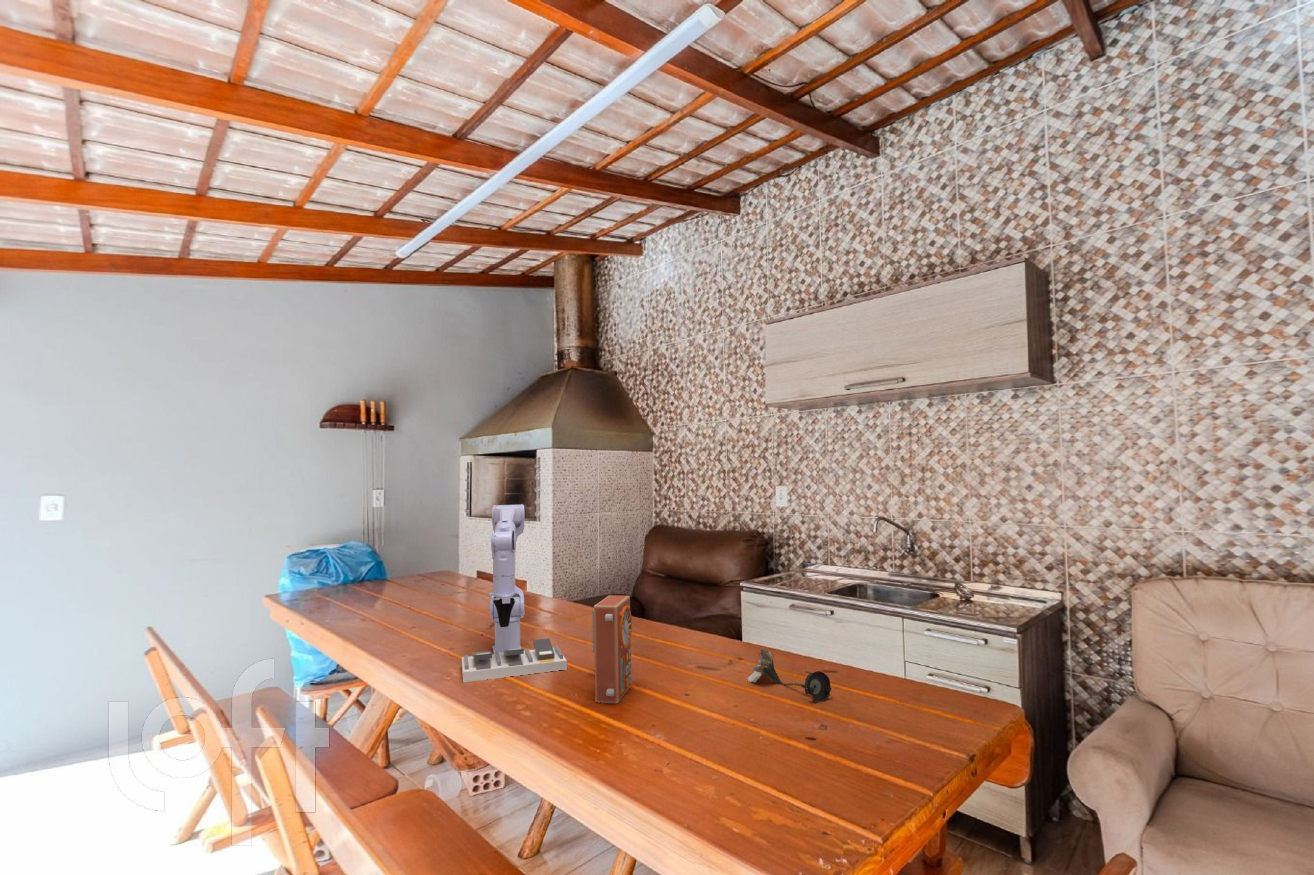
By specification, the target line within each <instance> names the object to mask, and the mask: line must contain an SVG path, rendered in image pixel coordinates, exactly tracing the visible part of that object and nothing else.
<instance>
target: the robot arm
mask: <svg viewBox="0 0 1314 875" xmlns="http://www.w3.org/2000/svg"><path fill="white" fill-rule="evenodd" d="M525 510H526V509H525V505H524V504H523V503H521V504H500V505H499V504H498V505H497V504H494V505H492V507H491V523H492V531H493V533H491V536H490V549H491V558H492V559H491V560H493V561H492V591H490V592H488V596H489V597H490V600H489V619H490V620H491V621H493V623H494V645H492V650H493V652H492V653H493V654H495V652H498V653H504V650H511V649H523V647H522V646H521V619H523V618H524V617H525V593H524V592H523V590H522V589H521V588H519V587H518V586H517V585H516V549H517V540H518V537H519V536H521V535H522V534H524V530H525V519H526V518H525V515H526V514H525Z"/></svg>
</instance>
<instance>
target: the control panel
mask: <svg viewBox="0 0 1314 875" xmlns="http://www.w3.org/2000/svg"><path fill="white" fill-rule="evenodd" d="M630 597H631V596H630V595H610V594H609V595H608V596H606V597H605V598H603V599H602V600H601V601H599V602H598V603H596V604H594V606H593V610H591V613H592V615H591V616H592V617H591V618H592V653H594V699H595V700H594V702H595V703H596V702H598V703H599V704H600V702H601V704H616V705H617V704H618V705H619V703H620V702H621V700H622V699H623V697H624V696H625V695H626V694H627V692H628V691H629V689H630V688H631V687H632V682H633V681H632V646H631V645H632V644H631V641H632V640H631V639H632V631H633V630H632V628H633V627H632V626H633V622H632V621H633V620H632V611H631V600H630V599H631V598H630ZM598 703H597V704H598Z"/></svg>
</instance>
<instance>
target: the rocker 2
mask: <svg viewBox="0 0 1314 875" xmlns="http://www.w3.org/2000/svg"><path fill="white" fill-rule="evenodd" d="M532 642H533V644H532V645H533V648H534V650H535V652H536V656H537V659H538V660H542V659H551V658H554V656H555V654H554V651H553V648H554V647H553V644H552V642H551V639H550V637H549V638H539V639H533V641H532Z"/></svg>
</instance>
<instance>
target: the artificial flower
mask: <svg viewBox="0 0 1314 875" xmlns="http://www.w3.org/2000/svg"><path fill="white" fill-rule="evenodd" d="M758 655H759V657H758V658H757V661H758V665H757V666H754V665H751V664H750V663H747V665H748V666H750V668H751V669H752V670H753V672H752V674H750V675H749V676H748V677H747V678H746V679H748V682H749V681H750V682H749V683H752V682H753V683H757V681H758V680H760V678H761V676H763V677H767V679H769V680H770V681H771V682H774V683H776V684H780V685H783V686H786V687H787V686H797V687H801V688H803V689H804V692H805V694H806V695H809V696H812V697H811V700H813V702H815V703H816V704H819V702H824V701H826V700H828V699H829V697H830V696H831V694H830V693H831V690H832V687H831V681H830V678H829V677H828V675H827V674H826V673H825V672H823V671H814V672H810V673H809V674H808V675H807V676H806V678H805V680H804V681H805V682H804V683H803V684H802V683H797V682H794V683H793V682H788V683H787V682H786V683H784V682H782V680H781V679H780V677H779V675H778V673H777V671H776V669H775V665H774V664H775V663H774V658H773V654H772V652H771V651H768V650H766V649H764V648H763V649H760V650H759V651H758Z"/></svg>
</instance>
